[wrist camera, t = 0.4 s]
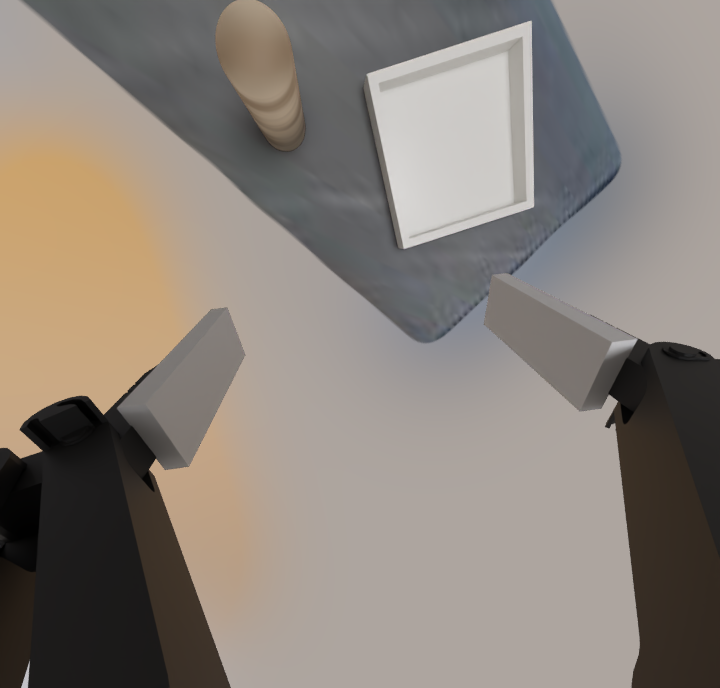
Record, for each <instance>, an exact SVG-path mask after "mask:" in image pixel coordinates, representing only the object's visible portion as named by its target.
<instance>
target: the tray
mask: <svg viewBox="0 0 720 688" xmlns="http://www.w3.org/2000/svg"><path fill="white" fill-rule="evenodd" d="M363 90H364V95H365V99H366V104H367V108H368V113H369V117H370V122H371V127H372V131H373V136H374V140H375V145H376V149H377V154H378V158H379V163H380V168H381V172H382V177H383V181H384V186H385V190H386V195H387V199H388V204H389V209H390V213H391V218H392V222H393V227H394V231H395V236H396V240H397V245H398V248H401V249H406V248H409V247H412V246H415V245H418V244H421V243H425V242H428V241H431V240H434V239H437V238H440V237H443V236H446V235H449V234H452V233H455V232H459V231H462V230H465V229H468V228H471V227H474V226H477V225H480V224H483V223H486V222H489V221H493V220H496V219H499V218H502V217H505V216H508V215H511V214H514V213H517V212H520V211H523V210H527V209H530V208H533V207H534V167H533V95H532V23H531V21H529V22H526V23H523V24H519V25H516V26H513V27H510V28H507V29H504V30H501V31H498V32H495V33H492V34H489V35H486V36H483V37H479V38H476V39H473V40H470V41H467V42H464V43H461V44H458V45H455V46H452V47H449V48H446V49H442V50H439V51H436V52H433V53H430V54H427V55H424V56H421V57H418V58H415V59H412V60H409V61H406V62H402V63H399V64H396V65H393V66H390V67H387V68H384V69H381V70H378V71H375V72H372V73H369V74H367V76H366V79H365V83H364V87H363Z"/></svg>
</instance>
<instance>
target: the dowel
mask: <svg viewBox="0 0 720 688" xmlns="http://www.w3.org/2000/svg"><path fill="white" fill-rule="evenodd" d="M215 37H216V50H217V54H218V58H219V61H220V64H221V66H222V68H223V70H224V72H225V74H226V75H227V77H228V79H229V80H230V82H231V83H232V85H233V87H234V88H235V90H236V91H237V93H238V95H239V96H240V98H241V99H242V101H243V103H244V104H245V106H246V107H247V109H248V111H249V112H250V114H251V115H252V117H253V119H254V120H255V122H256V123H257V125H258V126H259V128H260V130H261V131H262V133H263V134H264V136H265V138H266V139H267V141H268V142H269V143H270V144H271V145H272V146H273V147H274V148H276V149H278V150H280V151H285V152H288V151H292V150H295V149H296V148H298V147H299V146H300V145H301V143H302V141H303V139H304V136H305V120H304V115H303V109H302V103H301V98H300V92H299V87H298V81H297V75H296V70H295V64H294V58H293V53H292V47H291V43H290V39H289V36H288V33H287V31H286V29H285V27H284V25H283V23H282V22H281V20H280V19H279V17H278V16H277V15H276V14H275V13H274V12H273V11H272V10H271V9H270V8H269V7H268V6H266V5H265V4H263V3H261V2H259V1H256V0H237V1H234V2H232V3H231V4H230V5H228V6H227V7H226V8H225V9H224V11H223V12H222V14H221V16H220V18H219V20H218V23H217V28H216V36H215Z"/></svg>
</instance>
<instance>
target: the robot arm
mask: <svg viewBox="0 0 720 688" xmlns="http://www.w3.org/2000/svg"><path fill="white" fill-rule="evenodd" d="M484 325H485V326H486V327H488V328H489V329H490V330H491V331H492V332H493V333H494V334H495V335H496V336H497V337H498V338H500V339H501V340H502V341H503V342H504V343H505V344H506V345H507V346H508V347H509V348H511V349H512V350H513V351H514V352H515V353H516V354H517V355H518V356H519V357H520V358H522V359H523V360H524V361H525V362H526V363H527V364H528V365H529V366H530V367H531V368H533V369H534V370H535V371H536V372H537V373H538V374H539V375H540V376H541V377H542V378H544V379H545V380H546V381H547V382H548V383H549V384H550V385H551V386H552V387H553V388H554V389H556V390H557V391H558V392H559V393H560V394H561V395H562V396H564V397H565V399H567V400H568V401H569V402H570V403H571V404H572V405H573V406H574V407H575V408H577V409H578V410H579V411H587V410H594V409H601V408H602V406H603V404H604V403H605V401H606V399H607V397H608V395H611V396H612V397H613V398H615V399H616V400H617V401H618V403H617V405H616V407H615V408H614V410H613V412H612V414H611V416H610V417H609V420H608V421H607V423H606V426H605V427H607V428H610V426H611V424H614V423H615V424H616V433H617V442H618V451H619V460H620V469H621V477H622V486H623V495H624V504H625V512H626V521H627V530H628V538H629V548H630V556H631V565H632V574H633V583H634V591H635V600H636V609H637V617H638V627H639V636H640V649H639V656H638V659H637V662H636V665H635V668H634V671H633V678H632V688H720V359H714V358H713V357H712V356H711V355H709V354H708V353H706V352H704V351H702V350H699V349H697V348H694V347H691V346H687V345H683V344H678V343H671V342H655V343H653V344H648V343H646V342H644V341H642V340H640V339H638V338H636V337H634V336H632V335H630V334H628V333H626V332H624V331H622V330H620V329H618V328H615V327H614V326H612V325H610V324H608V323H606V322H603V321H602V320H600V319H598V318H596V317H594V316H592V315H589V314H587V313H585V312H583V311H581V310H579V309H577V308H575V307H573V306H571V305H569V304H567V303H565V302H563V301H561V300H559V299H557V298H555V297H553V296H551V295H549V294H547V293H545V292H543V291H541V290H539V289H537V288H535V287H533V286H531V285H529V284H527V283H525V282H523V281H521V280H519V279H517V278H515V277H513V276H511V275H509V274H507V273H505V274H497V275H492V278H491V284H490V290H489V296H488V303H487V309H486V314H485V320H484ZM244 356H245V353H244V350H243V347H242V345H241V342H240V340H239V337H238V334H237V332H236V329H235V327H234V324H233V321H232V319H231V316H230V313H229V311H228V308H219V309H212V310H210V311H209V312H208V314H207V315H206V316H205V317H204V318H203V319H202V320H201V321H200V322H199V323H198V324H197V325H196V326H195V327H194V328H193V329H192V330H191V331H190V332H189V333H188V334H187V335H186V336H185V338H183V340H181V342H180V343H179V344H178V345H177V346H176V347H175V348H174V349H173V350H172V351H171V352H170V353H169V354H168V355H167V356H166V357H165V358H164V359H163V360H162V361H161V362H160V364H158V365H157V366H155V367H154V368H152V369H151V370H149V371H148V372H146V373H145V374H144V375H143V376H142V377H141V378H140V379H139V380H138V381H137V382H136V383H135V385H133V386H132V387H131V388H130V389H129V390H128V393H125V394H124V395H123V396H122V397H121V398H120V399H119V400H118V401H117V402H116V403H115V404H114V405H113V406H112V407H111V408H110V409H109V410H108V411H107V412H106V413H105V414H104V415H103V414H102V413H101V412H100V410H99V409H98V408H97V407H96V406H95V404H94V403H93V402H92V401H91V400H90V399H89V397H87V396H76V397H71V398H67V399H65V400H62V401H59V402H56V403H54V404H52V405H50V406H48V407H46V408H44V409H42V410H41V411H39V412H37V413H36V414H34V415H32V416H31V417H30V418H29V419H28V420H27V421H25V422H24V423H23V425H22V426H21V428H20V431H21V432H23V433H24V434H25V435H26V436H27V437H28V438H29V439H31V441H33V442H34V443H35V444H36V445H37V446H38V447H39V448H40V449H41V450H43V451H42V452H39V453H36V454H33V455H30V456H27V457H24V458H21V459H20V458H19V457H18V456H16V455H15V454H14V453H13V452H12V451H10V450H9V449H8V448H0V688H21V686H22V683H23V679H24V677H25V673H26V670H27V667H28V664H29V661H30V668H29V682H28V688H231V687H230V684H229V682H228V679H227V676H226V673H225V671H224V668H223V665H222V662H221V660H220V657H219V654H218V651H217V648H216V645H215V643H214V640H213V638H212V635H211V632H210V629H209V626H208V623H207V621H206V618H205V615H204V612H203V610H202V607H201V604H200V601H199V599H198V596H197V593H196V590H195V587H194V584H193V582H192V579H191V576H190V573H189V571H188V568H187V565H186V562H185V560H184V557H183V554H182V551H181V548H180V546H179V543H178V541H177V537H176V535H175V532H174V529H173V526H172V523H171V521H170V518H169V515H168V513H167V510H166V507H165V504H164V502H163V499H162V496H161V493H160V490H159V487H158V485H157V482H156V479H155V476H154V475H153V474H152V473H151V471H150V470H149V468H150V467H151V465H152V464H153V462H154V461H155V459H157V460H158V462H159V463H160V464H161V465H162V467H163V468H164V469H165V470H168V469H175V468H182V467H189V466H190V464H191V462H192V460H193V457H194V456H195V454H196V452H197V450H198V448H199V446H200V444H201V441H202V440H203V438H204V436H205V434H206V432H207V430H208V428H209V426H210V424H211V422H212V420H213V418H214V416H215V414H216V412H217V410H218V408H219V406H220V404H221V402H222V400H223V398H224V396H225V394H226V392H227V390H228V388H229V386H230V384H231V382H232V380H233V378H234V376H235V374H236V372H237V370H238V368H239V366H240V364H241V362H242V360H243V358H244Z"/></svg>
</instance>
